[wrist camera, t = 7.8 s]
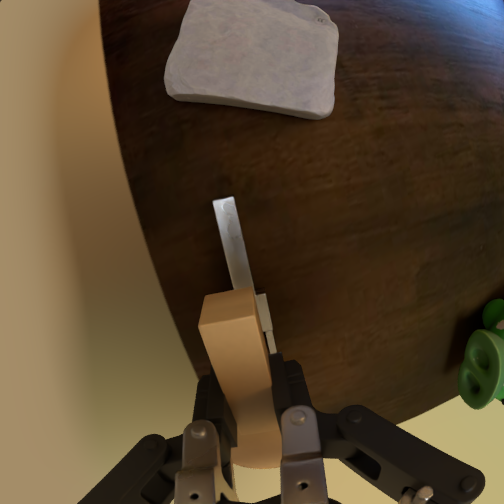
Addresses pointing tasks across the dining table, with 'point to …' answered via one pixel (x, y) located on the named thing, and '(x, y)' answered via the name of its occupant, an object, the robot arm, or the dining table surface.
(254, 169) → the dining table surface
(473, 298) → the dining table surface
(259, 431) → the wooden round paddle
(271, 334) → the fork
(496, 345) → the piggy bank
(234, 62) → the stone block
